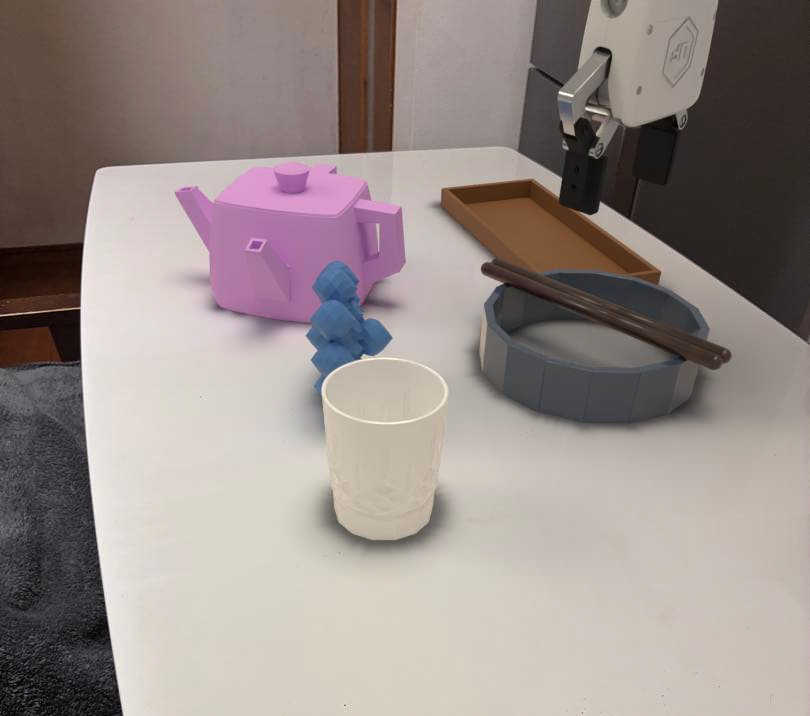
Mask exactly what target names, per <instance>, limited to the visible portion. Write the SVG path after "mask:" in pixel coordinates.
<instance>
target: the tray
mask: <svg viewBox="0 0 810 716" xmlns="http://www.w3.org/2000/svg"><path fill="white" fill-rule="evenodd" d="M440 189H441V191H440V207H441V208H442V209H443V210H444V211H445V212H446V213H447V214H448V215H449V216H451V218H453V219H454V220H455V221H456V222H457V223H458V224H460V225H461V227H463V228H464V229H465V230H466V231H467V232H468V233H469V234H470V235H471V236H472V237H473V238H474V239H475V240H477V241H478V242H479V243H480V244H481V245H482V246H483V247H484V248H485V249H487V250H488V251H489V252H490V253H491V254H492V255H493V256H494V258H500V259H503V260H505V261H508V262H510V263H513V264H516V265H518V266H521V267H523V268H526V269H528V270H531V271H533V272H536V273H538V272H544V271H550V270H558V269H569V270H599V271H604V272H610V273H615V274H621V275H626V276H631V277H636V278H639V279H642V280H645V281H647V282H650V283H653V284H656V285H658V286H660V285H659V284H660V281H661V280H660V279H661V275H662V271H661V270H660V269H659V268H657V267H656V266H655V265H653V264H652V263H650V262H649V261H647V260H646V259H645V258H644V257H642V256H641V255H640V254H638V253H637V252H635V251H634V250H632V249H631V248H630V247H629V246H627V245H626V244H624V243H623V242H621V241H620V240H619V239H618V238H616V237H615V236H613V235H611V234H610V233H609V232H608V231H606V230H605V229H604V228H602V227H601V226H599V225H598V224H596V223H595V222H594V221H592V220H591V219H590V218H588V217H587V216H585V215H584V213H582V212H579V211H576V210H573V209H570V208H567V207H564V206H562V205H561V204H560V203H559V196H558V195H556V194H555V193H553V192H552V191H551V190H550V189H548V188H547V187H545V186H544V185H543V184H541V182H538V181H537V180H535V179H534V178H523V179H516V180H507V181H497V182H487V183H478V184H467V185H459V186H450V187H441V188H440Z"/></svg>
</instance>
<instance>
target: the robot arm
mask: <svg viewBox="0 0 810 716" xmlns="http://www.w3.org/2000/svg"><path fill="white" fill-rule="evenodd" d="M718 5H719V0H590V5H589V10H588V12H587V13H588V14H587V19H586V22H585V28H584V33H583V37H582V43H581V48H580V54H579V59H578V60H579V61H578V67H577V71H576V72H575V73H574V74H573V75H572V76H571V77H570V79H568V80H567V81H566V83H565V84H564V85H563V86H562V87H561V88H560V89H559V91H558V93H557V96H556V97H557V98H556V99H557V106H558V113H559V126H558V127H559V128H558V129H559V132H560V134H561V136H562V149H564V150H565V157H564V163H563V170H562V176H561V183H560V188H559V196H558V197H559V203H560V204H561V205H562V206H564V207H567V208H570V209H573V210H576V211H578V212H580V213H581V214H585V215H587V216H593V215H595V214H598V212H599V210H600V206H601V205H600V204H601V200H602V194H603V189H604V182H605V178H606V172H607V167H608V161H609V157H608V156H605V155H603V154H604V153H605V150H606V149H607V147H608V145H609V144H610V142H611V140H612V138H613V137H614V135H615V132H616V130H617V129H618V127H619V125H620V124H621V123H622V125H624V126H626V127H630V128H635V127H640V130H639V134H638V138H637V145H636V149H635V154H634V159H633V162H632V168H631V175H632V176H633V177H634V178H636V179H639V180H642V181H645V182H648V183H652V184H655V185H658V186H666V185H668V184H669V183H670V181H671V177H672V173H673V169H674V164H675V162H676V161H675V160H676V156H677V151H678V147H679V143H680V139H681V135H682V130H683V129H684V128H685V127H686V124H687V122H688V118H689V117H688V116H689V115H688V109H689V108H691V107H692V106H693V105H694V104H695V103H696V102H697V101H698V99H699V98H700V94H701V92H702V91H701V90H702V87H703V82H704V78H705V73H706V70H707V69H706V68H707V64H708V59H709V54H710V49H711V44H712V40H713V39H712V38H713V33H714V28H715V22H716V17H717V12H718ZM591 121H595V122H598V123H601V124H600V125H599V128H598V130H597V131H596V133H595V130H594V129H593V127H592V124H591Z"/></svg>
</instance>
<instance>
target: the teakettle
mask: <svg viewBox="0 0 810 716" xmlns="http://www.w3.org/2000/svg"><path fill="white" fill-rule="evenodd" d="M337 170H338V169H337V165H329V164H321V163H314V164H313V165H312V166H308V165H307V164H304V163H301V162H295V161H287V162H282V163H279V164H276V165H275V166H273V167H270V166H254V167H253V166H252V167H251V168H249V169H248V170H246V171H244V172H243V173H242V174H241V175H239V176H238V177H237V178H235V179H234V180H233V181H232V182H231V183H230V184H228V186H226V187H225V188H224V189H223V190H222V191H221V192H220V193H219V194H218V195H217V196H216V197H215V198H214V199H213V201H211V199H209V197H207V196H206V195H205V194H204V193H203V192H202V191H201V190H200V189H199V186H198V185H191V186H181V187H180V188H178V189H177V190H175V191H174V195H175V197H176V199H177V201H178V203H179V204H180V205H181V207H182V209H183V211H184V212H185V214H186V216H187V218H188V219H189V221H190V223H191V224H192V226H193V228H194V229H195V231H196V232H197V234H198V236H199V237H200V239H201V241H202V243H203V244H204V246H205V248H206V249H207V251H208V254H209V255H208V257H209V259H208V260H209V278H210V286H211V291H212V294H213V297H214V298H215V301H216V303H217V305H218V307H220V308H221V309H225V310H227V311H232V312H235V313H240V314H244V315H245V314H246V315H250V316H255V317H261V318H266V319H271V320H272V319H273V320H279V321H286V322H295V323H303V324H304V323H305V324H312V322H311V321H310V318H311V317H312V316H313V314H314V313H315V312H316V311H317V309H318V308H319V307H320V306H321V305H322V303H321V301H320V300H319V297H318V296H317V294H316V293H315V292H314V290H313V289H312V286H313V285H314V283H315V282H316V278H317V277H318V276H319V274H320V273H321V272H322V271H323V269H324V268H325V267H326V266H327V265H328V264H329V263H331V262H333V261H341V262H343V263H345V264H346V265H347V266H348V267H349V268H350V269H351V270H352V272H353V273H354V274H355V275H356V277H357V278H358V280H359V281H360V282H359V283H358V284H357V286H356V287H357V288H358V289H357V291H356V294H357V295H358V297H359V298H360V299H361V300H360V302H359V303H358V305H359V306H360V307H361V306H362V305H363V303H364V302H365V300H366V299H367V297H368V296H369V294H370V292H371V291H372V289H373V286H374V284H375V283H376V282H378V281H381V280H384V279H386V278H389V277H392V276H393V275H395V274H397V273H400V272H401V270H402V269H403V268H404V266H405V265H406V263H407V262H406V261H407V260H406V259H407V258H406V248H405V232H404V218H403V206H402V205H398V204H394V203H393V204H392V203H387V202H381V201H375V200H372V196H371V192H370V187H369V183H368V181H367V180H365V179H363V178H359V177H355V176H349V175H344V174H338V171H337ZM377 224H378V225H379V226H378V227H379V229H377ZM378 235H379V236H378Z"/></svg>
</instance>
